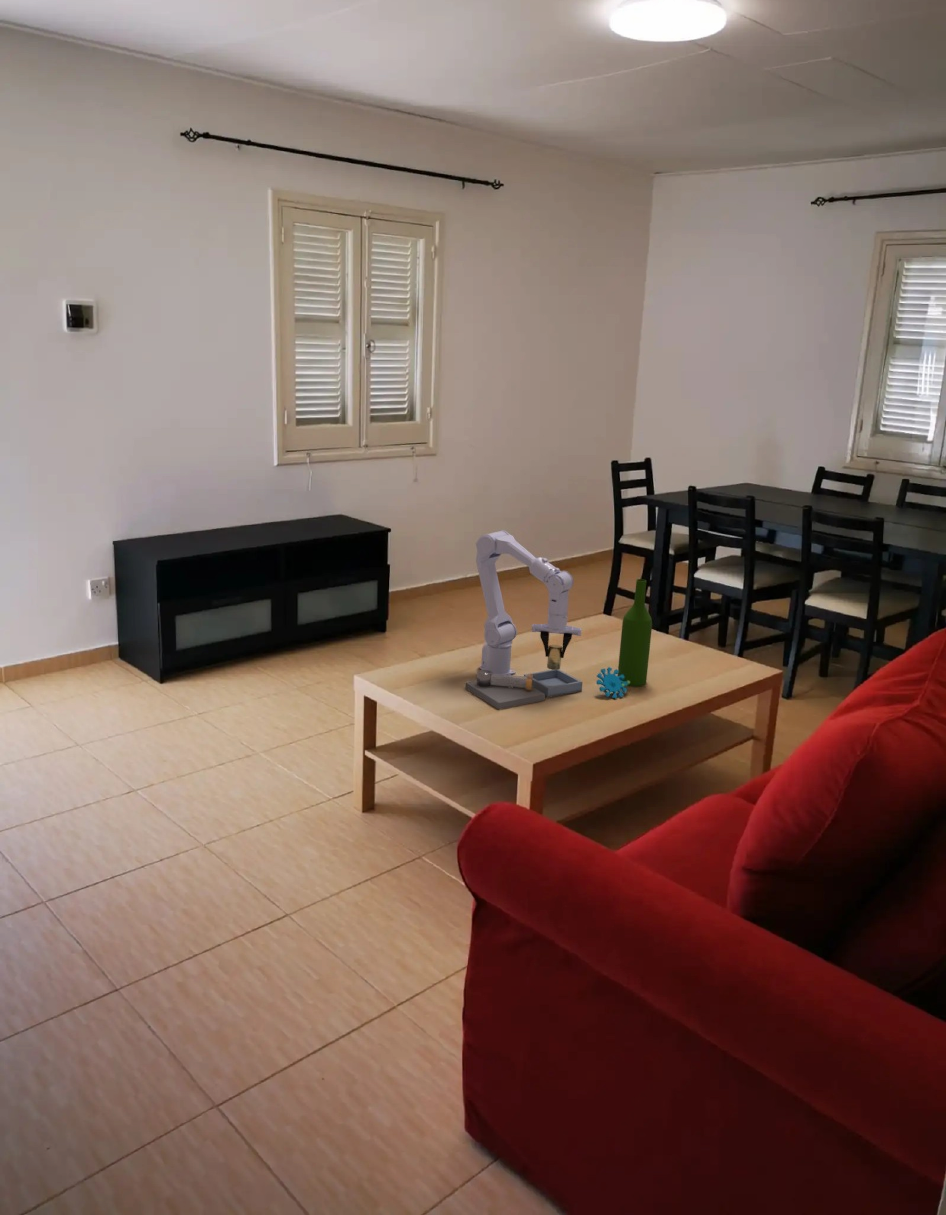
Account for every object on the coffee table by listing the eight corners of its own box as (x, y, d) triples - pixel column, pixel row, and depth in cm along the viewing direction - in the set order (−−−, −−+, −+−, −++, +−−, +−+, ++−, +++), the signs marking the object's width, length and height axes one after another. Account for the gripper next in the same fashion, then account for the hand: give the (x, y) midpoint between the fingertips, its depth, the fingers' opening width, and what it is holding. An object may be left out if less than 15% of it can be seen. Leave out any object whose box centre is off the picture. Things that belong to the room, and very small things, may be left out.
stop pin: (544, 666, 283) (546, 645, 281) (555, 664, 285) (557, 644, 283) (551, 670, 280) (553, 649, 278) (562, 668, 282) (564, 648, 280)
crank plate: (465, 688, 280) (465, 682, 279) (510, 680, 288) (510, 674, 288) (498, 709, 265) (499, 702, 265) (544, 700, 274) (545, 693, 273)
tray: (523, 683, 286) (523, 674, 285) (556, 677, 292) (557, 668, 292) (547, 697, 276) (548, 688, 275) (581, 691, 282) (582, 681, 281)
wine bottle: (623, 674, 298) (632, 574, 289) (650, 680, 294) (660, 579, 285) (612, 682, 290) (622, 580, 281) (640, 688, 286) (650, 585, 277)
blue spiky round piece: (601, 696, 275) (595, 665, 279) (592, 704, 279) (587, 673, 284) (634, 698, 278) (628, 667, 283) (625, 706, 283) (619, 675, 288)
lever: (475, 686, 276) (476, 674, 275) (478, 679, 281) (478, 668, 280) (531, 690, 274) (531, 679, 273) (532, 684, 279) (533, 673, 278)
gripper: (532, 614, 275) (529, 658, 278) (582, 618, 273) (578, 662, 277) (534, 607, 281) (531, 651, 285) (582, 611, 280) (579, 655, 283)
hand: (554, 656), depth 281 cm, fingers closed on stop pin, 4 cm apart
